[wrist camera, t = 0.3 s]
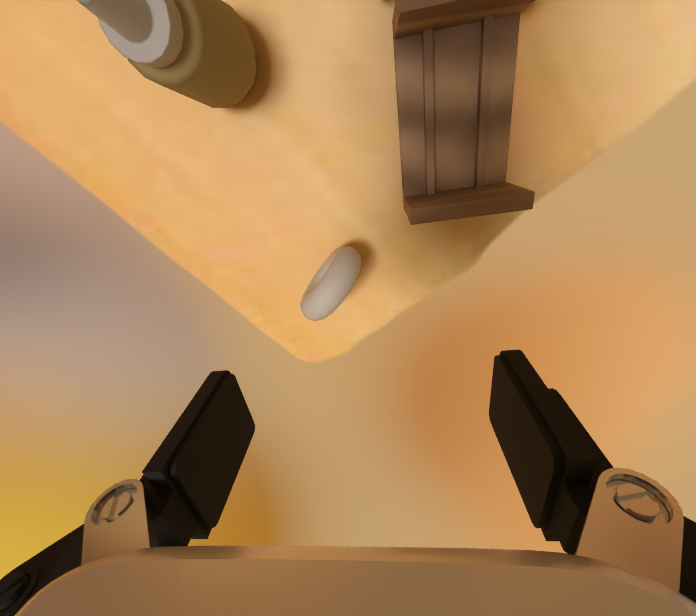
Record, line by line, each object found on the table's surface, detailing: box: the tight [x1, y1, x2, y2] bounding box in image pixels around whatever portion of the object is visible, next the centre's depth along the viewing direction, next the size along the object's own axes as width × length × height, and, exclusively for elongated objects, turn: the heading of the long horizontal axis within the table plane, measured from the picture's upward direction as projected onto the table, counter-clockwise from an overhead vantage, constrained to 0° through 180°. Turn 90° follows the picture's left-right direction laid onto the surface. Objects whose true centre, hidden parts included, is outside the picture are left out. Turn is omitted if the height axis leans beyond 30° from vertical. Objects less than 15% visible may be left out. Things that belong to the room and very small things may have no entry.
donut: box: [300, 246, 362, 321], centre depth 37 cm, size 10×4×10 cm, turn 143°
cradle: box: [392, 0, 535, 225], centre depth 28 cm, size 17×11×8 cm, turn 9°
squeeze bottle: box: [77, 0, 257, 108], centre depth 23 cm, size 8×8×18 cm
